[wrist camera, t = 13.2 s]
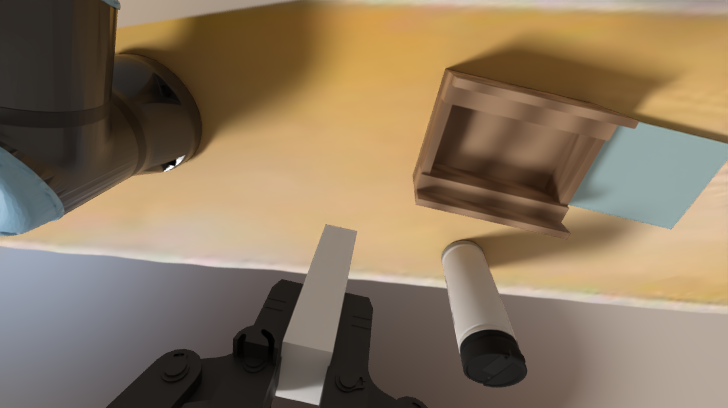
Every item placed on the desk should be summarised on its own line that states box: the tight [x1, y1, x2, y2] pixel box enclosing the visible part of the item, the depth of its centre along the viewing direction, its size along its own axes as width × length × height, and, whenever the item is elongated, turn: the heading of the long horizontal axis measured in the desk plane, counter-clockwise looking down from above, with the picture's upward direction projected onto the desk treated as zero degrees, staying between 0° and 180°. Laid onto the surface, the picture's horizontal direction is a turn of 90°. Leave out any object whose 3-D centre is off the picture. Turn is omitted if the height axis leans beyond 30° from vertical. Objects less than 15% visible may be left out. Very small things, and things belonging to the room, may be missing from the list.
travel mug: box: [442, 241, 527, 387], centre depth 42 cm, size 6×7×20 cm
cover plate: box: [568, 122, 728, 229], centre depth 41 cm, size 17×12×4 cm
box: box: [413, 69, 640, 239], centre depth 38 cm, size 18×14×8 cm
